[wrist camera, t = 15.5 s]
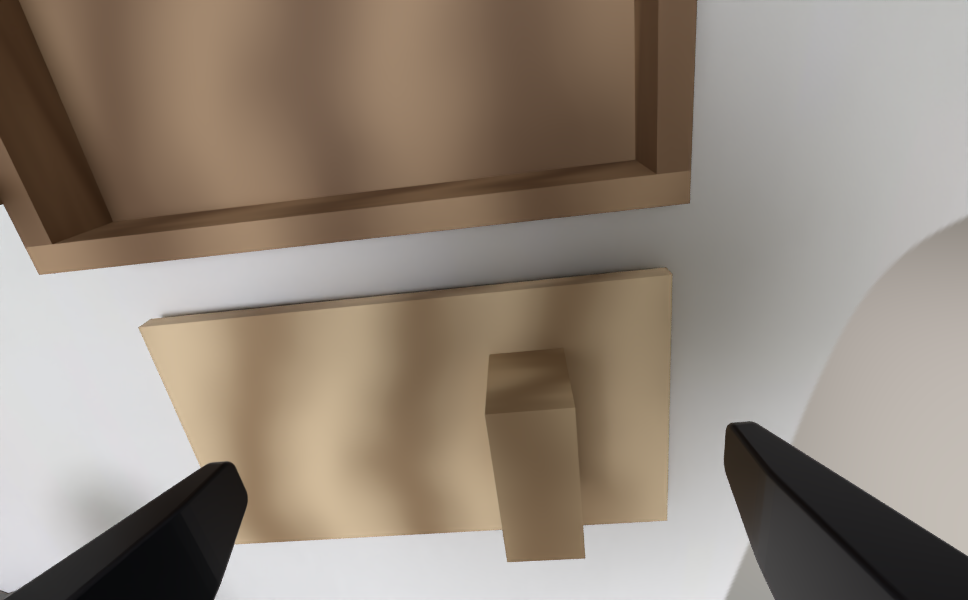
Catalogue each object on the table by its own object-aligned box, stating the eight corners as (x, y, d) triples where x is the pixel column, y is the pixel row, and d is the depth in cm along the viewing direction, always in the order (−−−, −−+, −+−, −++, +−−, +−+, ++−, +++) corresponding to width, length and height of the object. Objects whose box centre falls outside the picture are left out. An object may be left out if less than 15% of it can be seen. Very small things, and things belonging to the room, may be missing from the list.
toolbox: (664, -303, 14) (842, -731, 6) (659, 181, 19) (753, 249, 12) (-92, -151, 16) (-607, -343, 9) (88, 246, 21) (-136, 338, 14)
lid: (659, 258, 21) (711, 322, 15) (656, 491, 26) (695, 601, 20) (165, 309, 23) (59, 381, 17) (251, 516, 28) (190, 621, 22)
